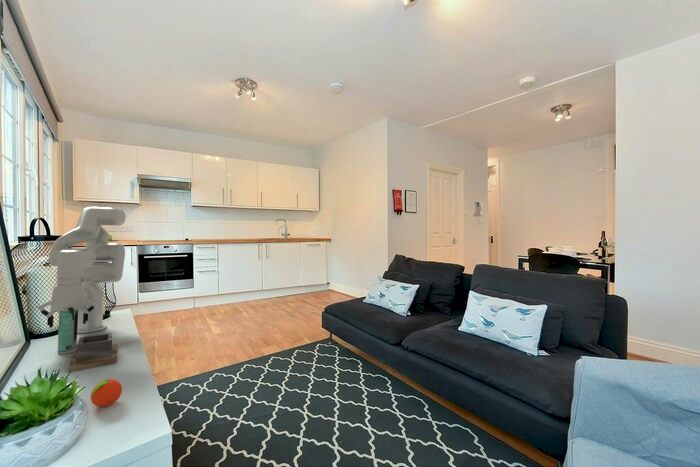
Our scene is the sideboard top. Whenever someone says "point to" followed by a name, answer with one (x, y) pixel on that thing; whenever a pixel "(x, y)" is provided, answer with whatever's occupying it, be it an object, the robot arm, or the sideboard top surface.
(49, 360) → the sideboard top surface
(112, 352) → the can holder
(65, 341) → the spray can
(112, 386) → the tomato
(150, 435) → the sideboard top surface
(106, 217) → the robot arm
